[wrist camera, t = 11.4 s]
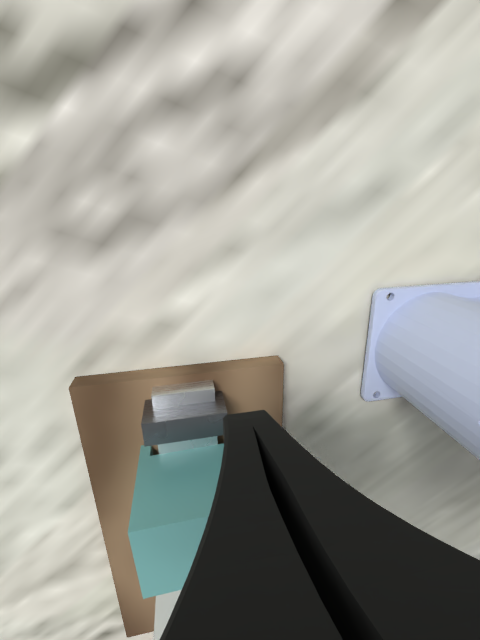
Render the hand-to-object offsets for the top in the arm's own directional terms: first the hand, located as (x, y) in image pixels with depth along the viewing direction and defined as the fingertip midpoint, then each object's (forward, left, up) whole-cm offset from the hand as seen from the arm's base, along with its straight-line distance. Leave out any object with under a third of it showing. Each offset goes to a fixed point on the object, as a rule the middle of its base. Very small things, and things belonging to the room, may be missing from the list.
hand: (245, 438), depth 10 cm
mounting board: (+2, +13, -9) cm, 16 cm away
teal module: (+2, +9, -8) cm, 12 cm away
